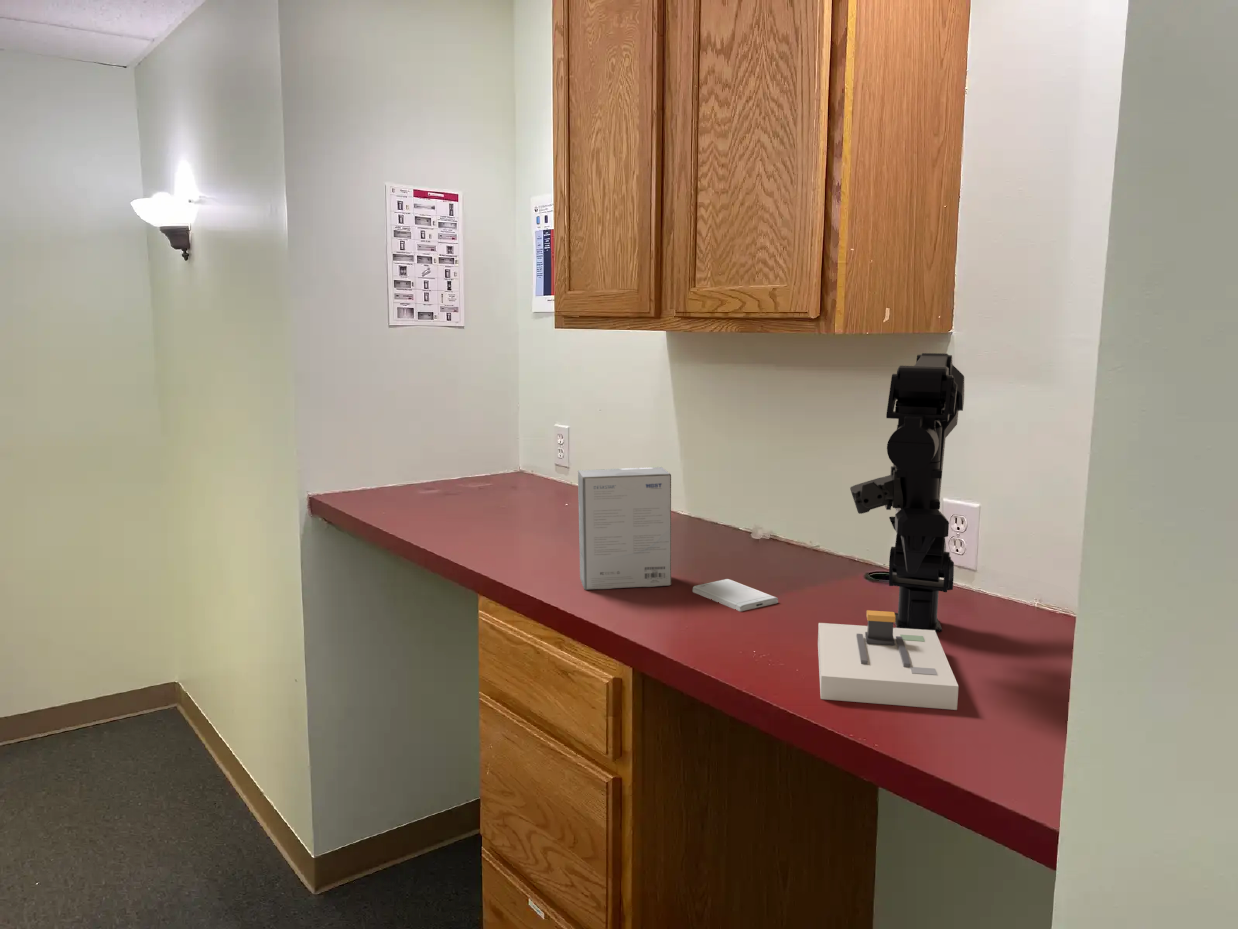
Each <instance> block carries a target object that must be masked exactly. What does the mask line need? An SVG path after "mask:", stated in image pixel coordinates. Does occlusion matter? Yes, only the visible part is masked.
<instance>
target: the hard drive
mask: <svg viewBox="0 0 1238 929" xmlns="http://www.w3.org/2000/svg"><path fill="white" fill-rule="evenodd" d="M692 593H694V594H696V595H700V596H701V597H704V598H707V599H708V600H711V599H712V600H711V601H713V602H716V603H718V602H719V604H721V605H723V606H725V607H728V608H730V609H733V610H735V609H736V610H735V611H738V612H744V611H748V610H753V609H758V608H762V607H766V606H770V605H774V604H778V603H779V598H778V597H776V596H773V595H771V594H768V593H766V592H763V591H761V590H758V589H755V588H753V587H750V586H748V585H745V584H742V583H740V582H737V581H734V580H733V579H729V578H725V579H721V580H720V579H719V580H716V581H711V582H708V583H707V582H706V583H702V584H698V585H694V586H693V587H692Z"/></svg>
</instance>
